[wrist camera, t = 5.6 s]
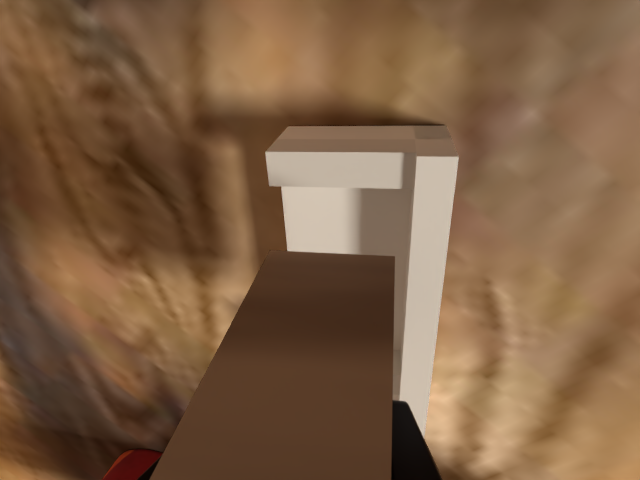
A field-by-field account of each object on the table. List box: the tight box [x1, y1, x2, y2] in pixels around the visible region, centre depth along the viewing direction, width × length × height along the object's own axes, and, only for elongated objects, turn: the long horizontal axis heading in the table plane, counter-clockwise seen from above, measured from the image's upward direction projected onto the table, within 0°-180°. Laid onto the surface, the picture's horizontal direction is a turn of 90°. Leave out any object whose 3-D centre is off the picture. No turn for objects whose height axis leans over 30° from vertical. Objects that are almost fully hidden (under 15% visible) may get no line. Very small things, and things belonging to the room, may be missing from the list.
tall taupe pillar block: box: [149, 250, 395, 480], centre depth 8 cm, size 6×3×7 cm, turn 3°
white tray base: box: [265, 126, 459, 437], centre depth 16 cm, size 5×17×3 cm, turn 3°
